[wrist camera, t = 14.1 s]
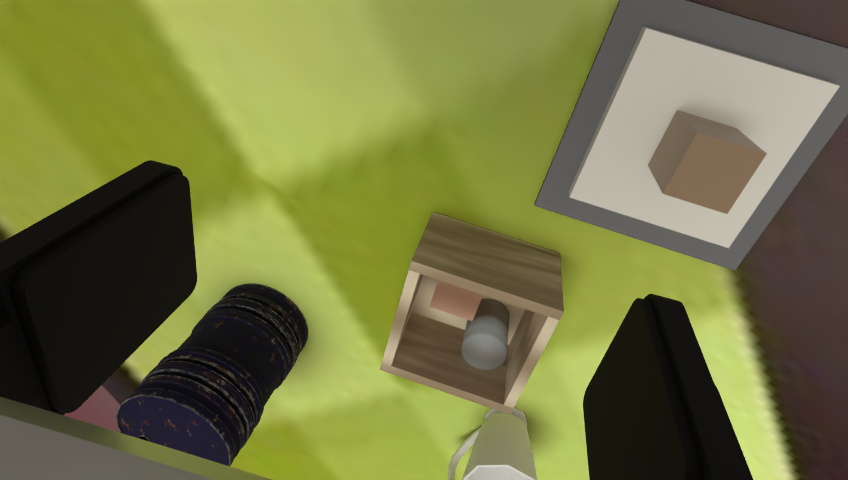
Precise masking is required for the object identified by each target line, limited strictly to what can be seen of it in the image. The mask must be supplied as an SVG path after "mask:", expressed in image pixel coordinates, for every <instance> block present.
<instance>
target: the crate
mask: <svg viewBox="0 0 848 480" xmlns="http://www.w3.org/2000/svg"><path fill="white" fill-rule="evenodd" d="M563 312H564V308H563V292H562V276H561V260H560V253H558V252H555V251H551V250H548V249H545V248H542V247H539V246H536V245H533V244H530V243H527V242H524V241H521V240H518V239H515V238H512V237H509V236H506V235H503V234H500V233H497V232H494V231H491V230H487V229H484V228H481V227H478V226H475V225H472V224H469V223H466V222H463V221H460V220H457V219H454V218H451V217H448V216H445V215H442V214H439V213H436V212H433V213H432V215H431V217H430V220H429V222H428V224H427V226H426V229H425V231H424V233H423V236H422V238H421V240H420V242H419V245H418V247H417V249H416V252H415V254H414V256H413V258H412V261H411V264H410V268H409V271H408V274H407V278H406V281H405V285H404V288H403V292H402V295H401V299H400V302H399V305H398V309H397V312H396V316H395V319H394V323H393V326H392V330H391V333H390V336H389V340H388V343H387V347H386V350H385V354H384V357H383V360H382V364H381V367H380V370H383V371H385V372H388V373H391V374H394V375H397V376H400V377H403V378H406V379H408V380H411V381H414V382H417V383H420V384H423V385H426V386H429V387H432V388H434V389H437V390H440V391H443V392H446V393H449V394H452V395H455V396H458V397H460V398H463V399H466V400H469V401H472V402H475V403H478V404H481V405H483V406H486V407H489V408H492V409H495V410H498V411H501V412H504V413H507V414H509V415H510V414H511V412H512V410H513V408H514V406H515V404H516V402H517V400H518V398H519V396H520V394H521V393H522V391H523V389H524V387H525V385H526V383H527V381H528V379H529V377H530V375H531V373H532V372H533V370H534V368H535V366H536V364H537V362H538V360H539V358H540V356H541V354H542V352H543V350H544V349H545V347H546V345H547V343H548V341H549V339H550V337H551V335H552V333H553V331H554V329H555V328H556V326H557V324H558V322H559V320H560V318H561V316H562V314H563Z"/></svg>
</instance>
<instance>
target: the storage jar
mask: <svg viewBox="0 0 848 480" xmlns="http://www.w3.org/2000/svg"><path fill="white" fill-rule="evenodd" d="M307 338H308V328H307V324H306V320H305V318H304V316H303V314H302V313H301V311H300V310H299V308H298V307H297V306H296V305H295V304H294V303H293V302H292V301H291V300H290V299H289V298H288V297H286V296H285V295H284V294H282V293H280V292H279V291H277V290H275V289H272V288H270V287H267V286H264V285H259V284H243V285H239V286H236V287H234V288H233V289H231V290H230V291H229V292H228V293H227V294H226V295H225V296H224V297H223V298H222V299H221V300H220V301H219V302H218V303H216V304H215V305H214V306H213V307H212V308H211V309H210V310H209V311H208V312H207V313H206V314H205V315H204V317H203V318H202V319H201V320H200V321H199V322H198V324H197V325H196V326H195V327H194V329H193V330H192V333H191V335H190V336H189V337H188V338H187V339H186V340H185V342H184V343H183V344H182V345H181V346H180V347H179V348H178V349H177V350H175V351H173V352H171V353H170V354H169V355H168V356H166V357H164V358H163V359H162V360H161V361H160V362H159V364H158V365H157V366H156V367H155V368H154V369H153V370H152V371H151V372H150V373H149V374H148V375H147V376H146V377H145V378H144V379H143V380H142V382H141V384H140V385H139V386H138V387H137V388H136V389H135V390H134V392H133V393H132V394H131V395H130V396H129V397H128V398H127V399H126V400H125V401H124V402H123V403H122V404H121V405H120V407H119V409H118V411H117V424H118V428H119V430H120V433H122V434H126V435H129V436H132V437H136V438H139V439H142V440H145V441H149V442H152V443H155V444H159V445H162V446H165V447H168V448H172V449H175V450H178V451H181V452H185V453H188V454H191V455H194V456H198V457H201V458H204V459H207V460H211V461H214V462H217V463H220V464H223V465H227V466H230V465H231V464H232V462H233V460H234V458H235V457H236V456H237V454H238V453H239V451H240V449H241V448H242V447H243V446H244V445H245V444H246V442H247V440H248V439H249V437H250V436H251V434H252V432H253V430H254V428H255V427H256V426H257V425H258V423H259V421H260V418H261V415H262V413H263V410H264V406H265V404H266V402H267V401H268V399H269V398H270V396H271V394H272V393H273V391H274V390H275V389H277V388H278V387H279V386H280V385H281V384H282V382H283V381H284V380H285V378H286V377H287V375H288V373H289V372H290V371H291V369H292V367H293V366H294V364H295V362H296V360H297V357H298V355H299V353H300V352H301V351H302V349H303V347H304V346H305V344H306V342H307Z"/></svg>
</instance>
